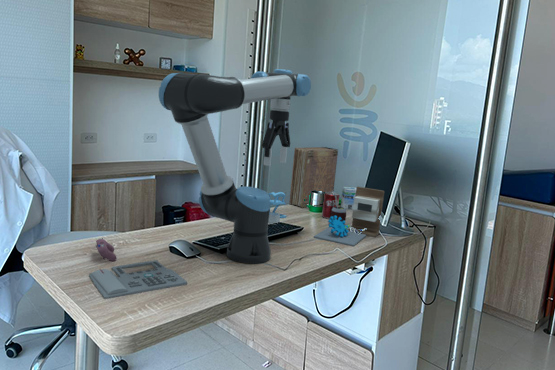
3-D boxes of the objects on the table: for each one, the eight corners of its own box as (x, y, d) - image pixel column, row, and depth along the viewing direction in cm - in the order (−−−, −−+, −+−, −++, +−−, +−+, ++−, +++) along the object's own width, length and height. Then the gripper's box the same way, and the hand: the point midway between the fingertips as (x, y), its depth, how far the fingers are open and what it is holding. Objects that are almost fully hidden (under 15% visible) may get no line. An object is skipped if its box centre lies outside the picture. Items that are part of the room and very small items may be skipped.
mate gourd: (344, 227, 212) (348, 195, 210) (327, 225, 214) (330, 193, 211) (345, 223, 220) (348, 192, 217) (328, 221, 221) (331, 190, 218)
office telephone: (105, 292, 122) (83, 266, 137) (104, 302, 122) (83, 275, 138) (187, 277, 135) (160, 255, 151) (187, 286, 136) (159, 263, 152)
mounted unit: (374, 237, 201) (380, 193, 198) (347, 231, 206) (352, 188, 203) (379, 233, 208) (384, 190, 205) (353, 228, 213) (358, 186, 210)
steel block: (275, 224, 208) (276, 216, 207) (264, 222, 209) (265, 214, 208) (279, 222, 212) (280, 213, 211) (268, 220, 214) (269, 211, 213)
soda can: (319, 215, 231) (322, 191, 229) (333, 215, 233) (335, 191, 231) (325, 219, 224) (328, 194, 222) (339, 219, 226) (342, 195, 224)
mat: (353, 246, 186) (353, 245, 186) (313, 237, 193) (313, 236, 193) (366, 236, 202) (366, 234, 202) (328, 228, 209) (328, 227, 209)
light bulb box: (342, 209, 250) (345, 188, 248) (340, 206, 256) (342, 186, 254) (362, 210, 251) (365, 190, 249) (359, 207, 257) (361, 187, 255)
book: (302, 208, 242) (307, 150, 237) (288, 204, 249) (294, 147, 243) (332, 203, 261) (338, 149, 255) (319, 199, 267) (324, 147, 261)
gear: (333, 235, 191) (327, 213, 196) (325, 241, 195) (319, 220, 200) (354, 236, 197) (347, 215, 202) (345, 243, 201) (339, 222, 206)
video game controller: (102, 256, 156) (92, 238, 153) (115, 249, 157) (105, 232, 155) (104, 267, 147) (93, 248, 145) (118, 260, 148) (107, 241, 146)
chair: (276, 213, 228) (278, 189, 226) (286, 217, 221) (288, 192, 219) (263, 214, 223) (265, 189, 221) (273, 218, 217) (275, 193, 214)
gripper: (273, 110, 172) (268, 168, 176) (301, 111, 194) (296, 162, 198) (255, 108, 175) (251, 165, 179) (285, 109, 197) (280, 160, 201)
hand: (275, 164), depth 189 cm, fingers open, 13 cm apart
